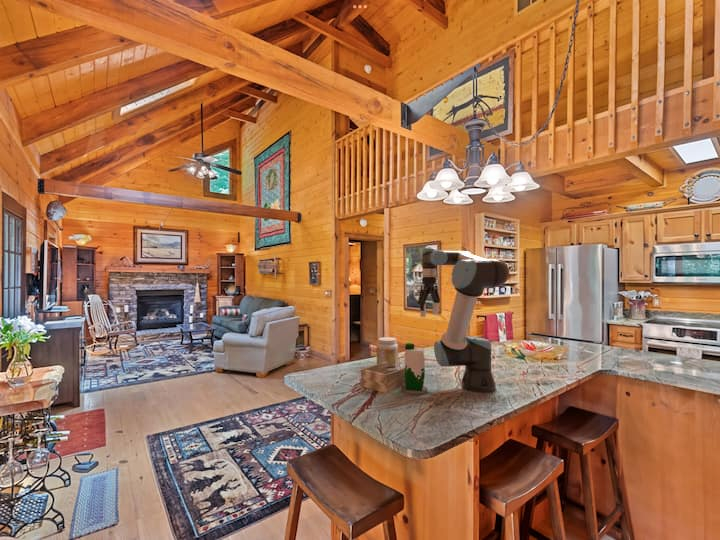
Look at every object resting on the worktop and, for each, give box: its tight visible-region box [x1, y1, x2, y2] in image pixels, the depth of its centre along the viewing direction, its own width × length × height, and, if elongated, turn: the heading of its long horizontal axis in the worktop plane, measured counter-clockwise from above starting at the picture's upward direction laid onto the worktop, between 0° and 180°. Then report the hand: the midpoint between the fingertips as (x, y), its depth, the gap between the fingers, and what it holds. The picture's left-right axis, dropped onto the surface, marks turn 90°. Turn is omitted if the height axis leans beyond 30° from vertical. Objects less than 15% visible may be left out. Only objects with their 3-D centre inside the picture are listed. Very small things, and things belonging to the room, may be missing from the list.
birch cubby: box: [360, 362, 406, 394], centre depth 168 cm, size 15×20×8 cm
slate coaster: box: [400, 385, 429, 396], centre depth 159 cm, size 12×12×1 cm
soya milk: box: [404, 342, 426, 391], centre depth 160 cm, size 9×9×20 cm
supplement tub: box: [376, 336, 399, 372], centre depth 197 cm, size 12×12×17 cm
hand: (429, 315), depth 189 cm, fingers open, 13 cm apart
